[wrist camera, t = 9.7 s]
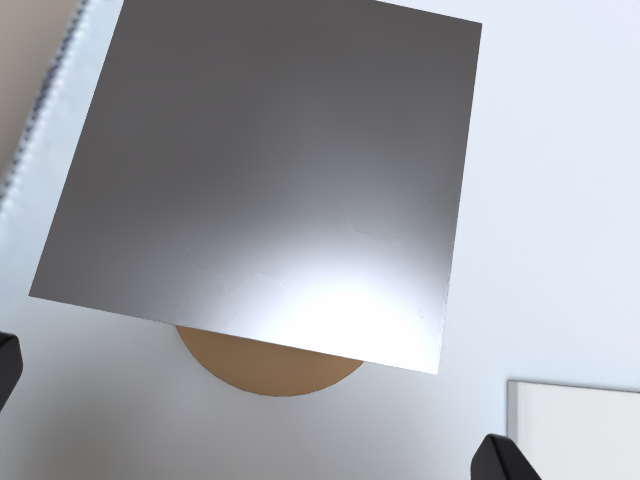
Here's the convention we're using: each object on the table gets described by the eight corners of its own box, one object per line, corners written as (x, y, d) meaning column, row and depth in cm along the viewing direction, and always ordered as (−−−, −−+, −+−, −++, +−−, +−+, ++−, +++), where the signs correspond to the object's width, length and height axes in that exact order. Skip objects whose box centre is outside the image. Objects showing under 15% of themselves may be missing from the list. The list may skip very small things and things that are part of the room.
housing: (332, 355, 19) (437, 375, 6) (204, 330, 18) (28, 296, 6) (354, 231, 20) (482, 22, 7) (233, 206, 20) (141, -51, 7)
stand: (363, 407, 21) (376, 417, 18) (159, 367, 21) (139, 371, 18) (396, 213, 23) (412, 193, 20) (210, 174, 23) (199, 148, 20)
